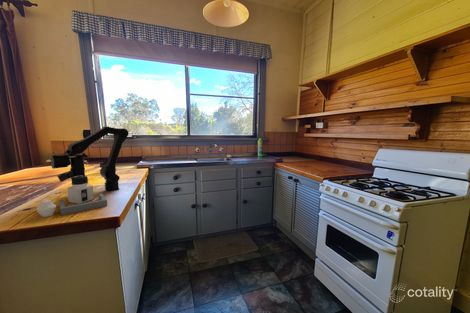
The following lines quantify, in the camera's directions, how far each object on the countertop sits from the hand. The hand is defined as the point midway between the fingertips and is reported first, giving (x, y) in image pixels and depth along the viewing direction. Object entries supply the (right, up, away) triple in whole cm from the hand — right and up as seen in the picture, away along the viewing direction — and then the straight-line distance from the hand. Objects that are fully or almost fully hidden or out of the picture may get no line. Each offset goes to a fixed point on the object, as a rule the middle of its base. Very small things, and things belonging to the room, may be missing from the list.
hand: (79, 193), depth 108 cm
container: (+6, -3, -6) cm, 9 cm away
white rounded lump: (+5, -5, -24) cm, 25 cm away
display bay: (+12, -4, -12) cm, 17 cm away
